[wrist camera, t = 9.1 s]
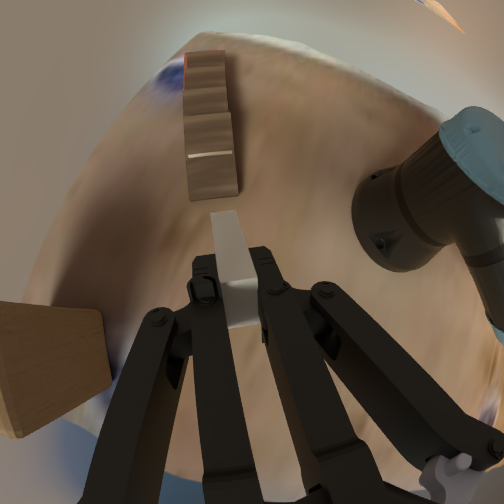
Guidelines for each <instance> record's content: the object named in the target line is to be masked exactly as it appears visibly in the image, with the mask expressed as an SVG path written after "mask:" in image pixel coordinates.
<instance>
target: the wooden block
mask: <svg viewBox="0 0 504 504" xmlns="http://www.w3.org/2000/svg"><path fill="white" fill-rule="evenodd" d="M111 384H112V376H111V371H110V366H109V361H108V355H107V349H106V342H105V335H104V328H103V319H102V315H101V312H100V311H98V310H96V309H86V308H69V307H55V306H43V305H32V304H23V303H12V302H4V301H0V434H2V435H4V436H6V437H9V438H11V439H21V438H24V437H25V436H27V435H29V434H31V433H33V432H34V431H36V430H38V429H40V428H41V427H43V426H45V425H46V424H48V423H50V422H51V421H54V420H55V419H57V418H59V417H60V416H62V415H64V414H66V413H67V412H69V411H71V410H72V409H74V408H76V407H77V406H79V405H81V404H82V403H84V402H86V401H87V400H89V399H91V398H92V397H94V396H95V395H97V394H99V393H100V392H102V391H104V390H105V389H107V388H108V387H110V386H111Z"/></svg>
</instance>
